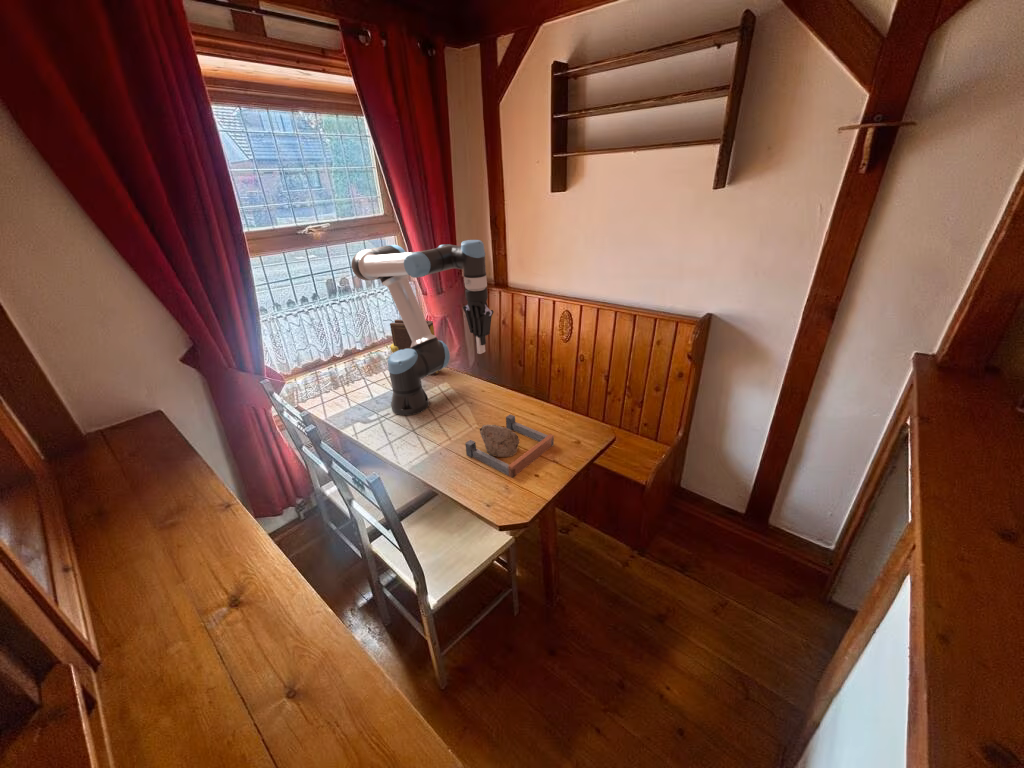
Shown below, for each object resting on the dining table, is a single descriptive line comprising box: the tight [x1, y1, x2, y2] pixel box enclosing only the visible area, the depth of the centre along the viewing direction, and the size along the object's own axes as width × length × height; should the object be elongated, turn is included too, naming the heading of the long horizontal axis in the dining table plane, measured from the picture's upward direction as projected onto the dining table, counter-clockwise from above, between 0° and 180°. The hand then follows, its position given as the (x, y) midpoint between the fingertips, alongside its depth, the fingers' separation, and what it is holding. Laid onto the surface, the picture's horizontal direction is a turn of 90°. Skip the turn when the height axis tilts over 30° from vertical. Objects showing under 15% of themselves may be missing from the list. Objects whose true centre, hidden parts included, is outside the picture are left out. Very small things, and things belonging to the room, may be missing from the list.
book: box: [389, 319, 440, 377], centre depth 199 cm, size 22×8×25 cm, turn 77°
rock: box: [478, 424, 520, 458], centre depth 143 cm, size 14×10×8 cm
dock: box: [465, 414, 555, 479], centre depth 144 cm, size 20×23×5 cm
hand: (481, 352), depth 154 cm, fingers closed
